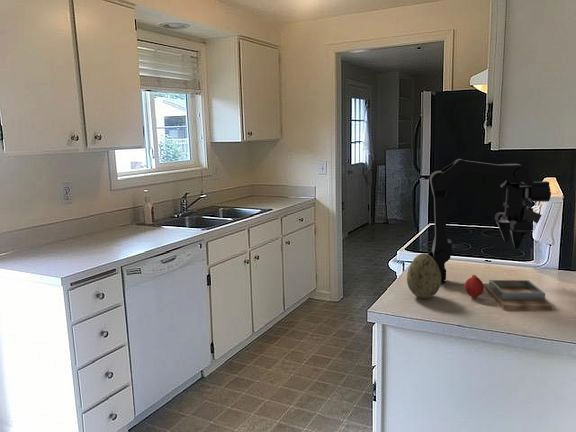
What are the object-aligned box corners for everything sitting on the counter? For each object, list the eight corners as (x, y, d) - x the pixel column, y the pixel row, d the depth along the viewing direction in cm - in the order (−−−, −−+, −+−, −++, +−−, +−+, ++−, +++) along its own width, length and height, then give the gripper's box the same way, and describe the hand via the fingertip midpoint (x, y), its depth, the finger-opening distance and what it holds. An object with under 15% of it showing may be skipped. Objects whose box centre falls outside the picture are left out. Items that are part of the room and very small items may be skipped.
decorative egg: (401, 299, 153) (402, 255, 150) (413, 289, 162) (414, 247, 159) (434, 306, 147) (435, 259, 144) (444, 295, 156) (446, 251, 153)
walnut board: (503, 309, 142) (503, 305, 142) (483, 287, 162) (483, 283, 162) (552, 310, 141) (552, 305, 141) (525, 287, 160) (525, 283, 160)
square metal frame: (502, 300, 146) (502, 293, 145) (489, 287, 158) (489, 280, 157) (544, 301, 144) (545, 293, 144) (528, 287, 157) (528, 280, 156)
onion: (467, 293, 157) (468, 270, 155) (485, 297, 153) (486, 273, 152) (461, 298, 152) (462, 275, 151) (479, 302, 149) (481, 278, 147)
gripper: (552, 205, 150) (547, 253, 153) (527, 197, 168) (524, 239, 171) (516, 205, 151) (512, 252, 154) (495, 197, 169) (492, 239, 172)
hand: (511, 245), depth 162 cm, fingers open, 9 cm apart
